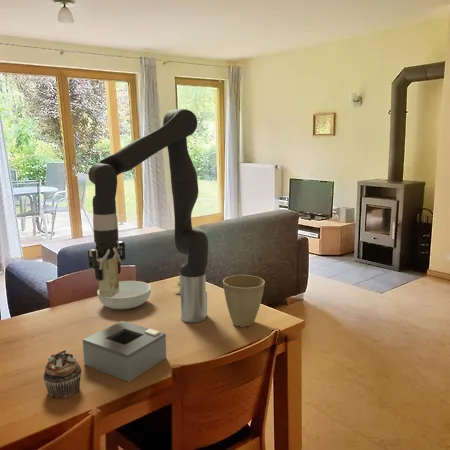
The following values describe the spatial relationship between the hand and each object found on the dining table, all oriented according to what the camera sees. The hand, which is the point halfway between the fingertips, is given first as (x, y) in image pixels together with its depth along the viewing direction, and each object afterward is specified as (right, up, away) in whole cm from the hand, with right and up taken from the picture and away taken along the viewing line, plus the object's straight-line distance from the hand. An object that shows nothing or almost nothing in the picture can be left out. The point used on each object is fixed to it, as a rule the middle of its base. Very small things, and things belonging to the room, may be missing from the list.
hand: (108, 276), depth 144 cm
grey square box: (+8, -24, -10) cm, 27 cm away
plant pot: (+44, -19, +17) cm, 51 cm away
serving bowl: (-2, -15, +34) cm, 38 cm away
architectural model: (+20, -13, +48) cm, 54 cm away
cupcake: (-5, -27, -25) cm, 38 cm away
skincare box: (0, -6, +1) cm, 6 cm away
